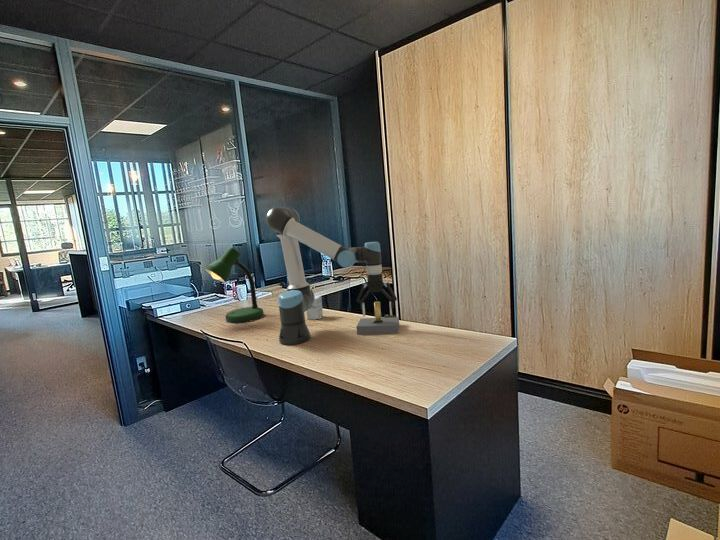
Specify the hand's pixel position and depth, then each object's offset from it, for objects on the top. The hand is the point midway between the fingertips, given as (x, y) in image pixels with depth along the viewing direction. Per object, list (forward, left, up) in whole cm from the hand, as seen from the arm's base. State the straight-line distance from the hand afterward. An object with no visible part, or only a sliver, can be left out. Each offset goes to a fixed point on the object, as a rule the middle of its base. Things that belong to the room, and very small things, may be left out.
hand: (377, 315), depth 187 cm
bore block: (0, 0, -7) cm, 7 cm away
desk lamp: (+30, +90, -8) cm, 95 cm away
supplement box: (+26, +40, -8) cm, 48 cm away
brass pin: (0, 0, -7) cm, 7 cm away
